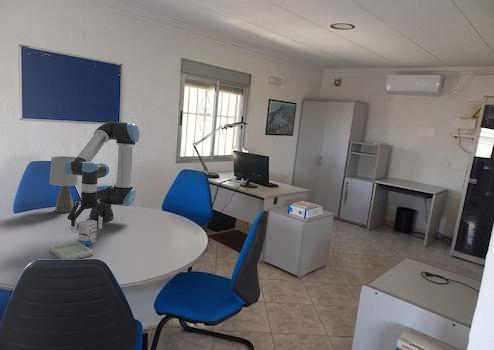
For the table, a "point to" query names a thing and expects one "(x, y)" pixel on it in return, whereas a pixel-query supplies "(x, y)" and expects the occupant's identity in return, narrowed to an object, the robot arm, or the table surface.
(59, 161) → the lamp
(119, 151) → the robot arm
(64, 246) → the tray
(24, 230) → the table surface
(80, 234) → the ink box
